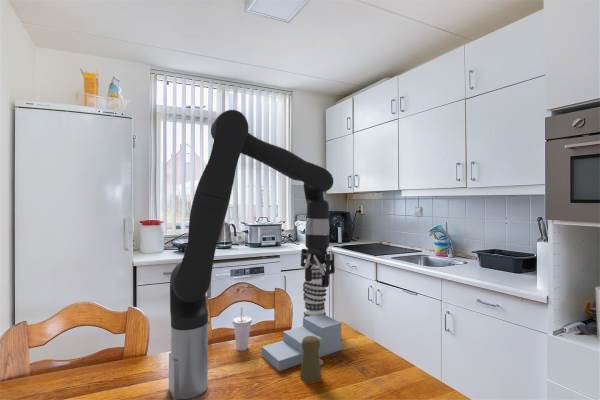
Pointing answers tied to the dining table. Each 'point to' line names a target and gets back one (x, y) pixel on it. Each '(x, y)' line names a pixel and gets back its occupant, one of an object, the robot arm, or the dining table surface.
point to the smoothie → (242, 331)
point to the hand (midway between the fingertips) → (316, 284)
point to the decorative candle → (314, 294)
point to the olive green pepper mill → (310, 360)
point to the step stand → (291, 346)
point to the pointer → (320, 361)
